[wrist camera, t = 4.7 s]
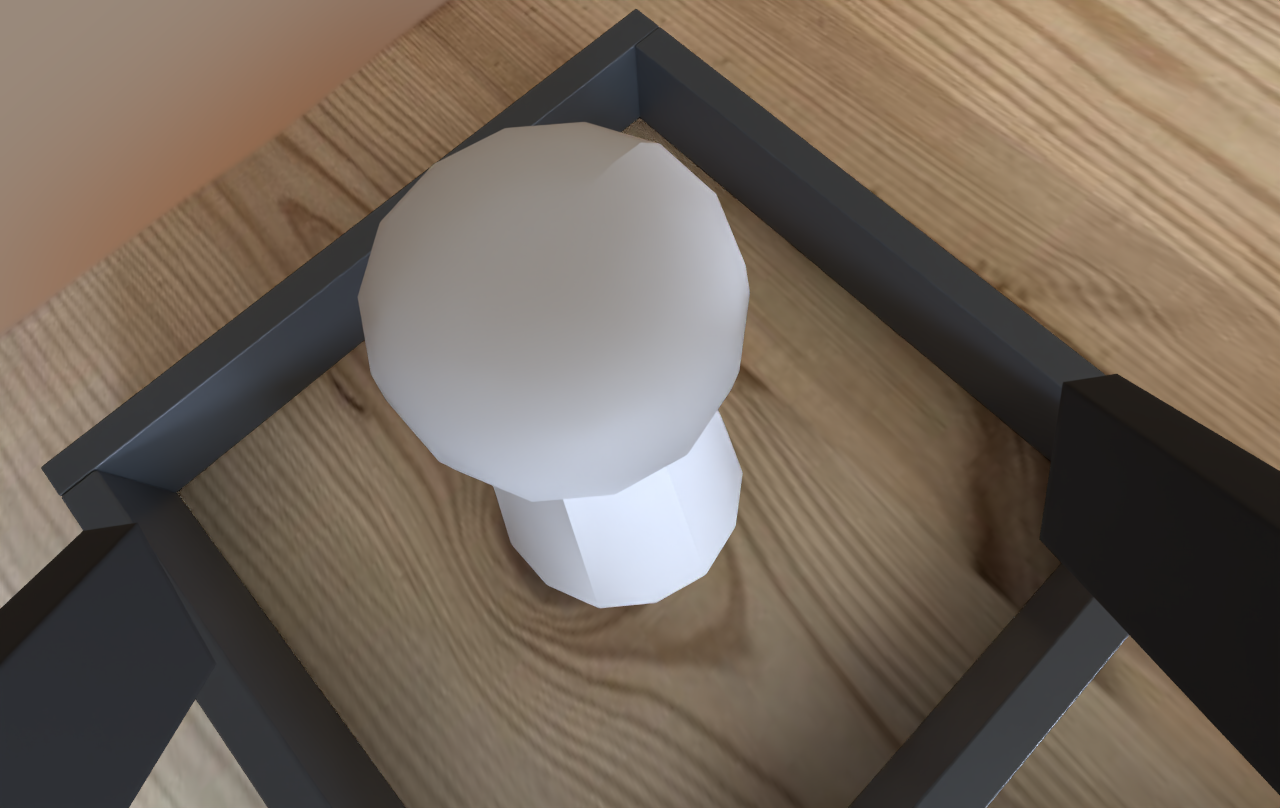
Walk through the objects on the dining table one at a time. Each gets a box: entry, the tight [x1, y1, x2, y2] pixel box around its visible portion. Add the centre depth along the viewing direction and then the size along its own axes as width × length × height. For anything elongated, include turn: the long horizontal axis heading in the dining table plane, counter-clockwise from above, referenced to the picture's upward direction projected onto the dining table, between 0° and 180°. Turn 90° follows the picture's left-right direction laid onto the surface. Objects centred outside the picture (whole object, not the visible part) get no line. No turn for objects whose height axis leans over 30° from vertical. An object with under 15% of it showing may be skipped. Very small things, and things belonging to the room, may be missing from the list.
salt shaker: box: [358, 122, 750, 608], centre depth 13 cm, size 6×6×13 cm
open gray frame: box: [41, 9, 1129, 808], centre depth 18 cm, size 20×20×3 cm
